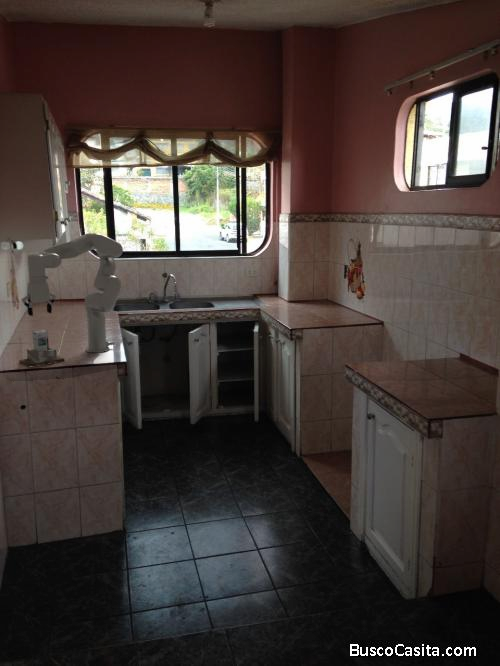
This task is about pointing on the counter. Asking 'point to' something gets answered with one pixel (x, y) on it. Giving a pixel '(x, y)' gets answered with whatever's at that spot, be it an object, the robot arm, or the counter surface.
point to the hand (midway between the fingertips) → (40, 314)
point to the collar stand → (41, 357)
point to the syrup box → (40, 340)
